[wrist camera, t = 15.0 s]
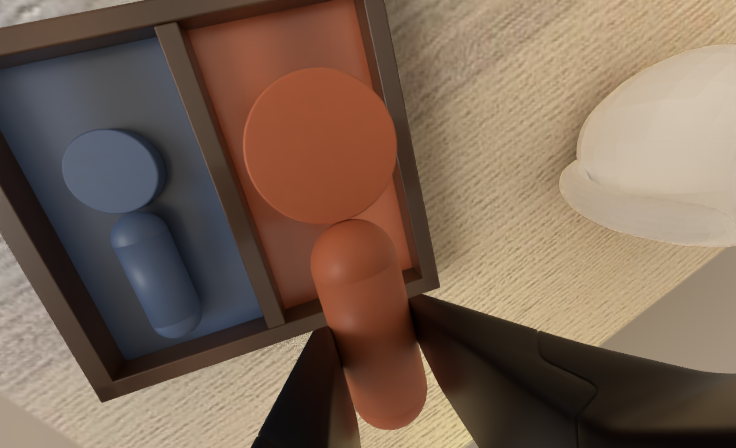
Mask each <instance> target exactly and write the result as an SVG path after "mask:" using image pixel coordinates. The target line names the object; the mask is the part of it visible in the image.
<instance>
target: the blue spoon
mask: <svg viewBox="0 0 736 448" xmlns="http://www.w3.org/2000/svg"><path fill="white" fill-rule="evenodd" d="M62 173H63V177H64V180H65V182H66V185H67V186H68V188H69V190H70V191H71V192H72V194H73V195H74V196H75V197H76V198H77V199H78V200H79V201H81V202H82V203H83V204H85V205H86V206H88V207H90V208H92V209H94V210H97V211H100V212H103V213H108V214H126V213H128V214H126V215H124V216H122V217H121V218H119V219H118V220H117V221H116V222H115V224H114V225H113V227H112V229H111V232H110V242H111V245H112V247H113V249H114V251H115V253H116V255H117V257H118V259H119V261H120V263H121V265H122V267H123V269H124V271H125V273H126V275H127V277H128V279H129V281H130V283H131V285H132V287H133V289H134V291H135V293H136V295H137V297H138V299H139V301H140V303H141V305H142V307H143V310H144V312H145V314H146V316H147V318H148V320H149V322H150V324H151V326H152V327H153V329H154V330H155V331H156V332H157V333H158V334H160V335H161V336H163V337H167V338H180V337H184V336H186V335H188V334H190V333H191V332H192V331H194V330H195V329H196V328H197V326H198V325H199V323H200V321H201V319H202V314H203V309H202V305H201V302H200V300H199V297H198V295H197V293H196V291H195V288H194V286H193V284H192V282H191V279H190V277H189V275H188V272H187V270H186V268H185V266H184V263H183V261H182V259H181V256H180V254H179V252H178V250H177V247H176V245H175V243H174V241H173V238H172V236H171V234H170V231H169V229H168V227H167V225H166V223H165V222H164V221H163V220H162V219H161V218H160V217H158V216H156V215H154V214H152V213H149V212H143V211H138V212H134V211H137V210H139V209H141V208H142V207H144V206H146V205H147V204H149V203H150V202H152V201H153V200H154V199H155V198H156V197H157V196H158V195H159V194H160V192H161V191H162V189H163V186H164V183H165V178H166V170H165V165H164V162H163V159H162V157H161V155H160V153H159V152H158V150H157V149H156V148H155V147H154V145H153V144H151V143H150V142H149V141H148V140H147V139H145V138H144V137H142V136H141V135H139V134H137V133H134V132H132V131H129V130H124V129H117V128H110V129H96V130H91V131H88V132H85V133H83V134H81V135H79V136H78V137H76V138H75V139H74V140H73V141H72V142H71V143H70V144H69V145H68V147H67V148H66V150H65V153H64V155H63V159H62ZM131 212H132V213H131Z"/></svg>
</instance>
